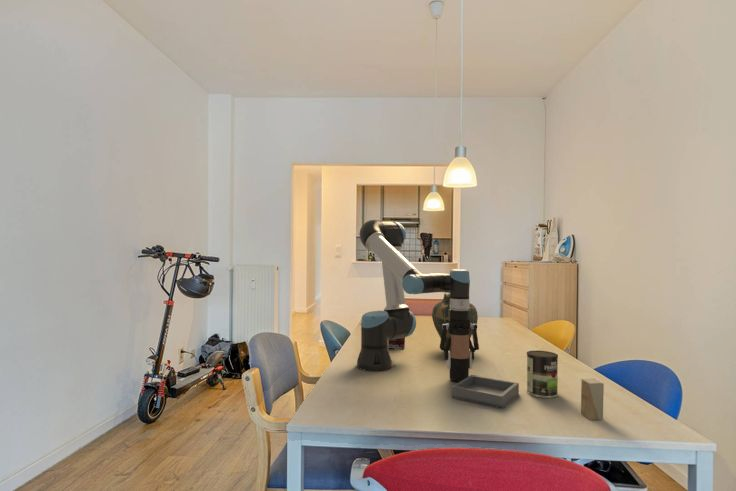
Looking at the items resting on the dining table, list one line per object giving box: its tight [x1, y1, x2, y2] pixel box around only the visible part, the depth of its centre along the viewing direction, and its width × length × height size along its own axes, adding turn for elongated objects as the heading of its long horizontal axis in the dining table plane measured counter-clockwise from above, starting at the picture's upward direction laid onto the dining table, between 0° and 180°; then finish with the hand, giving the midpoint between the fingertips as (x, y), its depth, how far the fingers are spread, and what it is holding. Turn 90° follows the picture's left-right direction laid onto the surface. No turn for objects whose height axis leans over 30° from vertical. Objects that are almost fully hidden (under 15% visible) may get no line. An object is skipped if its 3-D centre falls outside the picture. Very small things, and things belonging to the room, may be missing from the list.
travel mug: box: [449, 328, 470, 382], centre depth 170 cm, size 8×8×20 cm
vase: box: [431, 292, 479, 345], centre depth 216 cm, size 22×22×30 cm
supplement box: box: [388, 337, 406, 350], centre depth 225 cm, size 9×5×16 cm, turn 84°
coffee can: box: [526, 350, 559, 399], centre depth 155 cm, size 10×10×14 cm
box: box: [580, 378, 605, 421], centre depth 133 cm, size 5×4×11 cm
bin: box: [451, 374, 520, 410], centre depth 151 cm, size 17×17×4 cm
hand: (459, 368), depth 170 cm, fingers closed on travel mug, 8 cm apart
